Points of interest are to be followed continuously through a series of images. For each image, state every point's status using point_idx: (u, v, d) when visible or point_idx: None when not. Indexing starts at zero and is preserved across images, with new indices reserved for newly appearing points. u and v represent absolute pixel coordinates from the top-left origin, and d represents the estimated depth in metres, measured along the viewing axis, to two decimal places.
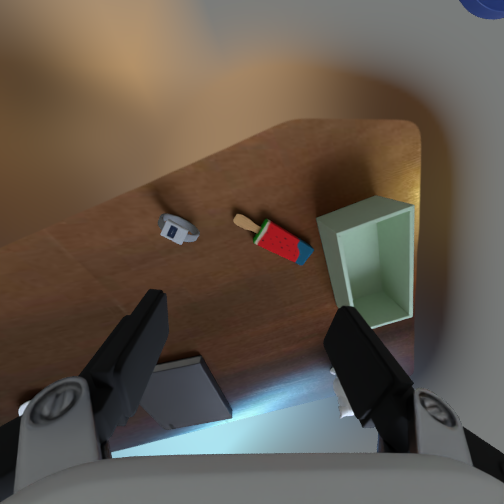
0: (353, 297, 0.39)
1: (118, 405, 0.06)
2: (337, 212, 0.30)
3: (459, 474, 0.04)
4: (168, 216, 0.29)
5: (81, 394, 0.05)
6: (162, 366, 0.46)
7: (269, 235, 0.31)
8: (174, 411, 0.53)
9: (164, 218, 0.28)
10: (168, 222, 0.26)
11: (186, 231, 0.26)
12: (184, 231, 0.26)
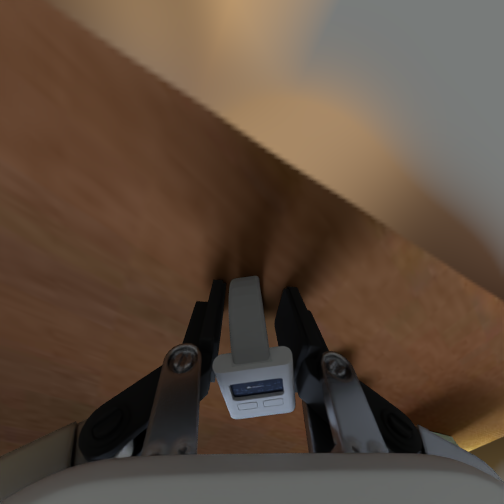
0: None
1: (210, 370, 0.07)
2: None
3: (459, 474, 0.04)
4: None
5: (196, 356, 0.06)
6: None
7: None
8: None
9: None
10: (286, 370, 0.06)
11: (290, 409, 0.07)
12: (284, 405, 0.07)
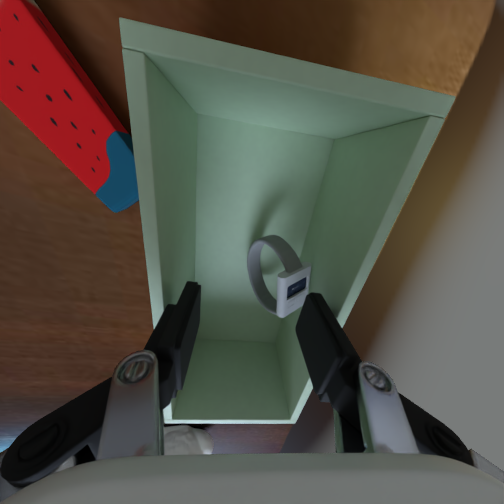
0: (222, 335, 0.20)
1: (174, 378, 0.07)
2: None
3: (459, 474, 0.04)
4: None
5: (153, 364, 0.06)
6: None
7: (7, 46, 0.09)
8: None
9: None
10: (310, 269, 0.12)
11: None
12: (304, 299, 0.13)
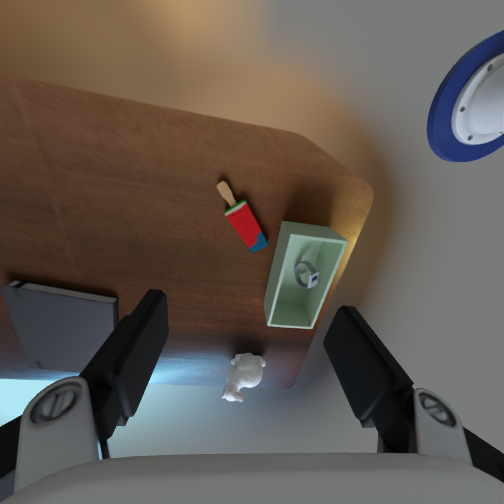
0: (278, 300, 0.45)
1: (118, 405, 0.06)
2: (298, 224, 0.36)
3: (459, 474, 0.04)
4: None
5: (81, 394, 0.05)
6: (67, 292, 0.41)
7: (240, 214, 0.35)
8: (53, 348, 0.47)
9: None
10: (318, 272, 0.38)
11: None
12: (316, 282, 0.39)
